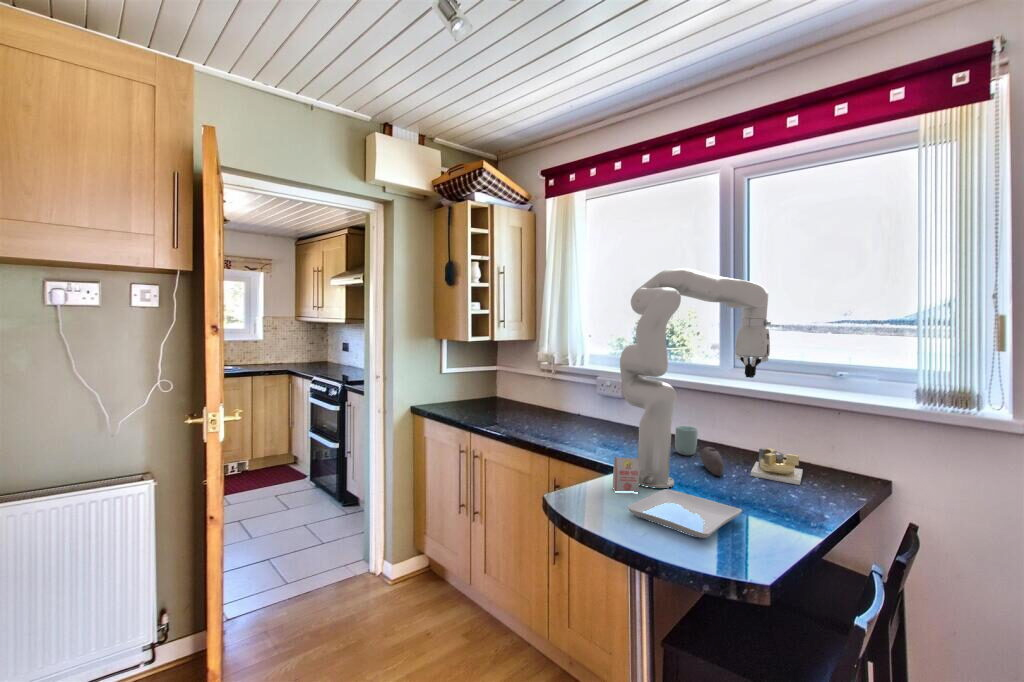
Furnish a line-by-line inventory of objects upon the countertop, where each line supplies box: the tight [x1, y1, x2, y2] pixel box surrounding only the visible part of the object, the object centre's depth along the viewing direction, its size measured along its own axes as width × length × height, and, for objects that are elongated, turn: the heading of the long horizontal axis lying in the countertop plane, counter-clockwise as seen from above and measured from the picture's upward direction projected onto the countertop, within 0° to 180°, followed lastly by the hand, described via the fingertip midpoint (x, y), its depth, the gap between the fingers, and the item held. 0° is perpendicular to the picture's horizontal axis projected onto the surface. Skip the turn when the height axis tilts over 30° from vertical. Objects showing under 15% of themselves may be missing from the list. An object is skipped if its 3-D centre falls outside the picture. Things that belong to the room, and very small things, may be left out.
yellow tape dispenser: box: [760, 447, 800, 474], centre depth 160 cm, size 11×11×6 cm
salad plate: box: [626, 488, 743, 539], centre depth 123 cm, size 21×21×3 cm
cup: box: [674, 425, 699, 457], centre depth 183 cm, size 8×8×10 cm
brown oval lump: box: [700, 446, 725, 477], centre depth 162 cm, size 15×5×7 cm, turn 171°
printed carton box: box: [612, 456, 640, 493], centre depth 141 cm, size 4×7×10 cm, turn 88°
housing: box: [750, 448, 803, 486], centre depth 161 cm, size 14×14×7 cm
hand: (749, 377), depth 167 cm, fingers closed
